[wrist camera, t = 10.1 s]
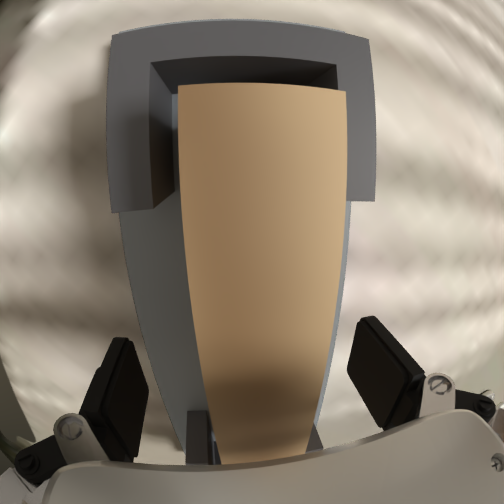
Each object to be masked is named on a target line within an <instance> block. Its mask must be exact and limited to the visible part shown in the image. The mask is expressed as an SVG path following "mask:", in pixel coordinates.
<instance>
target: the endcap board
mask: <svg viewBox="0 0 504 504" xmlns="http://www.w3.org/2000/svg"><path fill="white" fill-rule="evenodd" d="M210 83H270V84H287V85H299V86H309V87H318V88H326V89H333V90H340V91H346V109H347V188H346V209H345V226H344V239H343V250H342V261H341V271H340V279H339V288H338V296H337V303H336V310H335V317H334V324H333V330H332V336H331V342H330V348H329V353H328V359H327V364H326V369H325V374H324V379H323V384H322V388H321V393H320V397H319V402H318V406H317V410H316V414H315V418H314V422H313V426H312V430H311V434H310V437H309V441H308V445H307V448H306V452H305V454H306V453H311V452H315V451H320V450H323V445H322V443H321V440H320V438H319V435H318V432H317V430H316V426H317V422H318V418H319V415H320V411H321V407H322V403H323V398H324V394H325V390H326V385H327V381H328V376H329V372H330V367H331V362H332V357H333V351H334V346H335V340H336V335H337V329H338V323H339V316H340V310H341V303H342V296H343V288H344V280H345V271H346V262H347V252H348V241H349V228H350V213H351V201H375V184H376V113H375V95H374V82H373V71H372V62H371V54H370V46H369V39H366V38H362V37H358V36H355V35H350V34H346V33H345V32H344V31H339V30H334V29H329V28H324V27H319V26H313V25H306V24H299V23H291V22H282V21H271V20H255V19H210V20H193V21H182V22H173V23H165V24H158V25H152V26H146V27H141V28H135V29H131V30H126V31H122V32H119V34H115V35H112V40H111V48H110V57H109V68H108V82H107V106H106V140H107V164H108V179H109V191H110V201H111V210H112V213H118V212H119V218H120V226H121V233H122V240H123V246H124V253H125V258H126V264H127V270H128V275H129V280H130V285H131V290H132V294H133V299H134V303H135V308H136V312H137V316H138V320H139V324H140V328H141V332H142V335H143V339H144V343H145V346H146V350H147V353H148V356H149V360H150V363H151V366H152V369H153V373H154V376H155V379H156V382H157V385H158V388H159V390H160V393H161V396H162V399H163V402H164V404H165V407H166V410H167V412H168V415H169V417H170V420H171V423H172V425H173V427H174V430H175V432H176V435H177V437H178V439H179V442H180V444H181V446H182V449H183V451H184V453H185V455H186V465H222V464H221V460H220V456H219V452H218V447H217V443H216V439H215V435H214V430H213V426H212V421H211V417H210V412H209V407H208V402H207V397H206V392H205V387H204V382H203V376H202V371H201V365H200V359H199V353H198V347H197V341H196V334H195V328H194V321H193V314H192V306H191V299H190V291H189V282H188V274H187V265H186V255H185V245H184V233H183V221H182V208H181V192H180V173H179V147H178V86H181V85H193V84H210Z"/></svg>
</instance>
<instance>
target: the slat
mask: <svg viewBox="0 0 504 504" xmlns="http://www.w3.org/2000/svg"><path fill="white" fill-rule="evenodd" d="M178 147H179V173H180V192H181V208H182V221H183V233H184V245H185V255H186V265H187V274H188V282H189V291H190V299H191V306H192V314H193V321H194V328H195V334H196V341H197V347H198V353H199V359H200V365H201V371H202V376H203V382H204V387H205V392H206V397H207V402H208V407H209V412H210V417H211V421H212V426H213V430H214V435H215V439H216V443H217V447H218V452H219V456H220V460H221V464H222V465H223V464H237V463H248V462H257V461H265V460H272V459H279V458H285V457H291V456H296V455H301V454H305V452H306V448H307V445H308V441H309V437H310V434H311V430H312V426H313V422H314V418H315V414H316V410H317V406H318V402H319V397H320V393H321V388H322V384H323V379H324V374H325V369H326V364H327V359H328V353H329V348H330V342H331V336H332V330H333V324H334V317H335V310H336V303H337V296H338V288H339V279H340V271H341V261H342V250H343V239H344V226H345V209H346V188H347V109H346V91H340V90H333V89H326V88H318V87H309V86H299V85H287V84H270V83H210V84H193V85H181V86H178Z"/></svg>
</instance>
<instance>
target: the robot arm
mask: <svg viewBox="0 0 504 504" xmlns="http://www.w3.org/2000/svg"><path fill="white" fill-rule="evenodd" d="M347 373H348V375H349V377H350V379H351V380H352V382H353V384H354V385H355V387H356V389H357V391H358V392H359V394H360V396H361V397H362V399H363V401H364V403H365V404H366V406H367V408H368V410H369V411H370V413H371V415H372V417H373V418H374V420H375V422H376V424H377V425H378V427H380V428H381V427H382V428H383V430H384V431H383V432H381V433H378V434H375V435H372V436H369V437H366V438H363V439H360V440H357V441H353V442H350V443H347V444H343V445H339V446H336V447H332V448H328V449H324V450H320V451H315V452H311V453H306V454H301V455H296V456H291V457H285V458H279V459H272V460H265V461H257V462H248V463H237V464H223V465H158V464H143V463H133V460H134V457H137V456H138V452H139V446H140V439H141V433H142V427H143V422H144V416H145V410H146V405H147V400H148V395H149V389H148V385H147V382H146V380H145V377H144V374H143V371H142V368H141V365H140V362H139V359H138V356H137V353H136V350H135V347H134V344H133V342H132V341H129V339H128V338H123V337H115V338H113V340H112V342H111V344H110V347H109V349H108V351H107V353H106V355H105V358H104V360H103V362H102V364H101V367H99V368H98V369H97V370H96V372H95V374H94V377H93V379H92V381H91V384H90V386H89V389H88V391H87V393H86V396H85V398H84V401H83V403H82V406H81V409H80V411H79V414H75V413H69V414H65V415H63V416H61V417H60V418H59V419H58V420H57V421H56V422H55V424H54V428H53V431H54V435H52V436H50V437H48V438H46V439H44V440H42V441H40V442H38V443H36V444H34V445H32V446H29V447H27V448H25V449H23V450H21V451H20V452H19V453H18V454H17V455H16V458H15V463H14V465H15V468H14V469H12V468H11V467H10V468H9V469H8V470H6V471H5V472H4V473H3V474H2V475H1V476H0V504H504V409H503V408H504V403H503V402H500V403H499V404H498V405H497V406H496V405H495V404H494V402H493V400H494V396H495V394H494V393H493V392H492V391H491V390H490V391H486V392H485V393H483V394H482V395H480V394H475V393H470V392H465V391H461V390H456V389H455V383H454V382H453V380H452V379H451V378H450V377H449V376H447V375H445V374H442V373H433V374H430V375H428V376H427V377H426V376H425V375H424V373H425V372H424V370H423V369H422V368H421V367H420V366H419V365H418V363H417V362H416V361H415V360H414V359H413V358H412V357H411V355H410V354H409V353H408V352H407V351H406V350H405V349H404V348H403V346H402V345H401V344H400V343H399V342H398V341H397V340H396V339H395V338H394V336H393V335H392V334H391V333H390V332H389V331H388V330H387V329H386V328H385V327H384V325H383V324H382V323H381V322H380V321H379V320H378V319H377V318H376V317H375V316H368V317H363V318H361V319H360V321H359V322H358V323H357V325H356V330H355V335H354V340H353V344H352V349H351V353H350V357H349V361H348V365H347Z"/></svg>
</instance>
